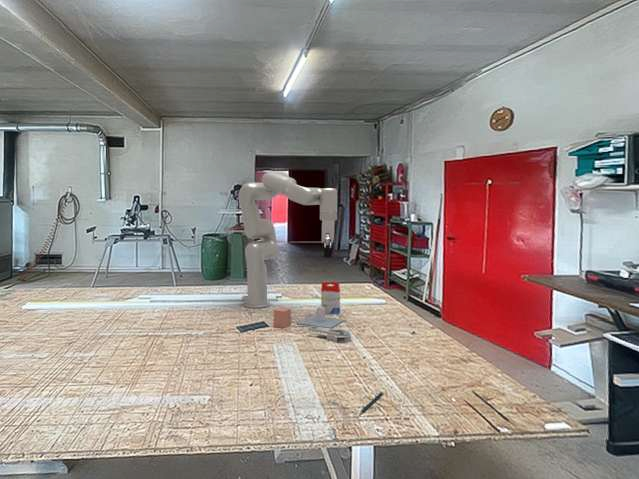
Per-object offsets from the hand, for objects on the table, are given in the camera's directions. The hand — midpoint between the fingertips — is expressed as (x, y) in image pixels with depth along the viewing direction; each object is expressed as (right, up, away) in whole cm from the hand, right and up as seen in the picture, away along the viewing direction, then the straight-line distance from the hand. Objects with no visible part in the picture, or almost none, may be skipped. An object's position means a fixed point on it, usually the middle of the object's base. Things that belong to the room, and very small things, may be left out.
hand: (328, 255), depth 214 cm
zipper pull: (0, -31, -26) cm, 40 cm away
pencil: (+9, -37, -85) cm, 93 cm away
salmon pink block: (-20, -29, -10) cm, 36 cm away
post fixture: (-3, -28, -4) cm, 29 cm away
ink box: (+1, -27, +13) cm, 30 cm away
